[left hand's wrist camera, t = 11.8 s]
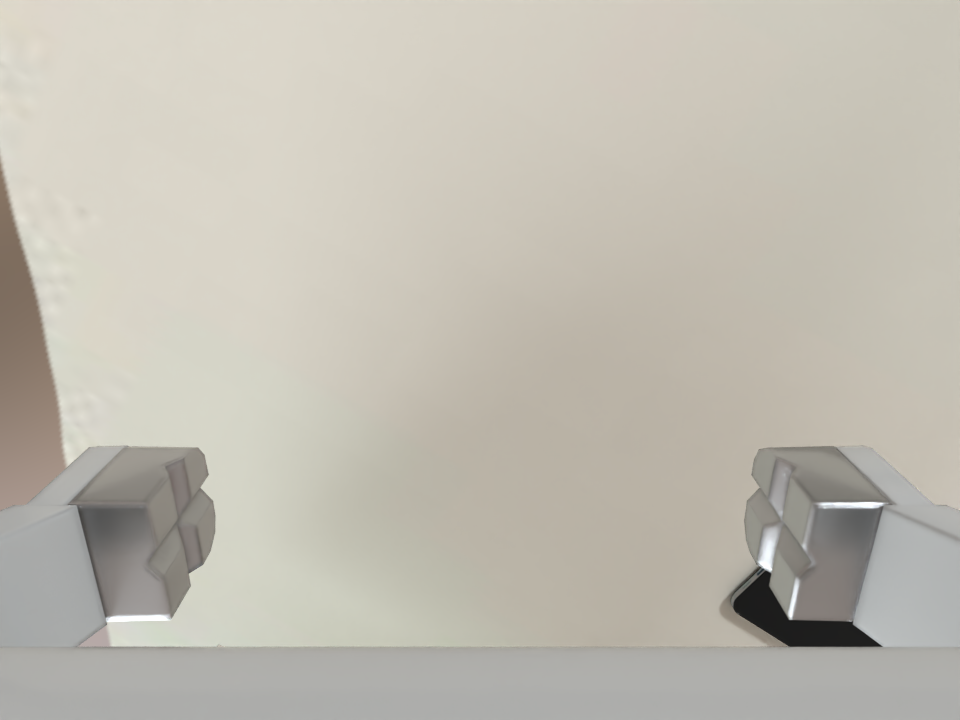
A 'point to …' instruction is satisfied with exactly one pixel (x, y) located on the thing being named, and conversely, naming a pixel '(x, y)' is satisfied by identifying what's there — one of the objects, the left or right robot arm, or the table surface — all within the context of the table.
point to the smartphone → (769, 615)
